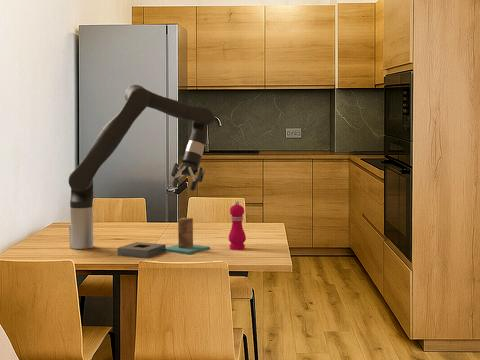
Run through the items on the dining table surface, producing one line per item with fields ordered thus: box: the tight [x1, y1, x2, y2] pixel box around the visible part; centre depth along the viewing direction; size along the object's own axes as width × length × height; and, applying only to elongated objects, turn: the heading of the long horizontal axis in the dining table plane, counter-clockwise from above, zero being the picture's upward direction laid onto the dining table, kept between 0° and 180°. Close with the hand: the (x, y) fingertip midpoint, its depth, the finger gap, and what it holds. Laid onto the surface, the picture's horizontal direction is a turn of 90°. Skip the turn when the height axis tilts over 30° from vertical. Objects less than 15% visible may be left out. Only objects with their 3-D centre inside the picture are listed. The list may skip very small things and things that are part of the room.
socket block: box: [117, 241, 167, 259], centre depth 310 cm, size 14×14×3 cm
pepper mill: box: [228, 200, 247, 251], centre depth 319 cm, size 7×7×20 cm
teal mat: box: [166, 244, 211, 255], centre depth 318 cm, size 14×14×1 cm
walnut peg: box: [177, 217, 194, 249], centre depth 317 cm, size 4×4×12 cm
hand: (183, 188), depth 327 cm, fingers open, 8 cm apart
